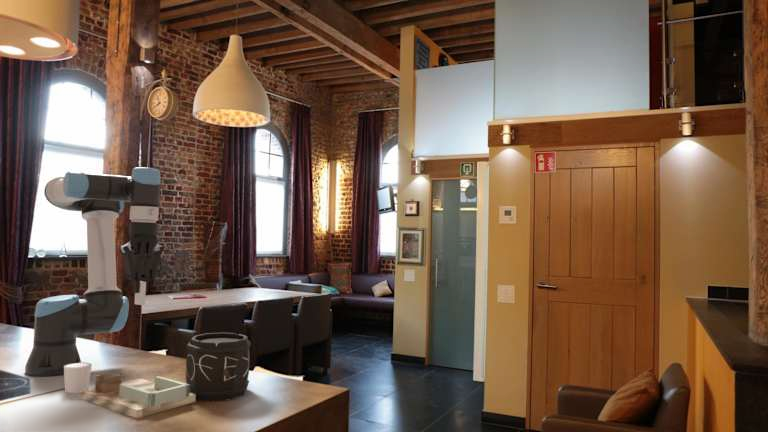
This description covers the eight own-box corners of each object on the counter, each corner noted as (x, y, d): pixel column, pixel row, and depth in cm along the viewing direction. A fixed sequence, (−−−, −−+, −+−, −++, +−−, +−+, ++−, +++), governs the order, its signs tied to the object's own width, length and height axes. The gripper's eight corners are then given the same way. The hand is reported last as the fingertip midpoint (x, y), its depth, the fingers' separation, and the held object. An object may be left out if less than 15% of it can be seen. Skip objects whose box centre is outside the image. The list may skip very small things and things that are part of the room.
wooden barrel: (188, 406, 142) (191, 345, 143) (179, 387, 158) (182, 333, 159) (256, 398, 151) (259, 341, 151) (242, 382, 167) (244, 330, 167)
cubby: (119, 396, 142) (119, 384, 142) (158, 386, 152) (158, 376, 152) (150, 406, 135) (151, 394, 135) (189, 395, 144) (190, 384, 144)
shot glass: (96, 388, 155) (97, 363, 155) (75, 394, 148) (76, 368, 149) (77, 385, 157) (79, 361, 157) (56, 391, 151) (57, 366, 151)
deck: (81, 398, 145) (81, 391, 145) (139, 385, 159) (140, 378, 159) (137, 418, 132) (137, 410, 132) (195, 401, 146) (195, 394, 146)
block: (95, 390, 146) (95, 375, 146) (111, 386, 150) (111, 372, 150) (104, 393, 144) (105, 378, 144) (120, 389, 148) (121, 375, 148)
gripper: (130, 220, 148) (125, 307, 147) (171, 222, 159) (167, 303, 158) (114, 220, 152) (110, 305, 151) (156, 222, 163) (152, 301, 162)
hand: (139, 304), depth 155 cm, fingers closed
